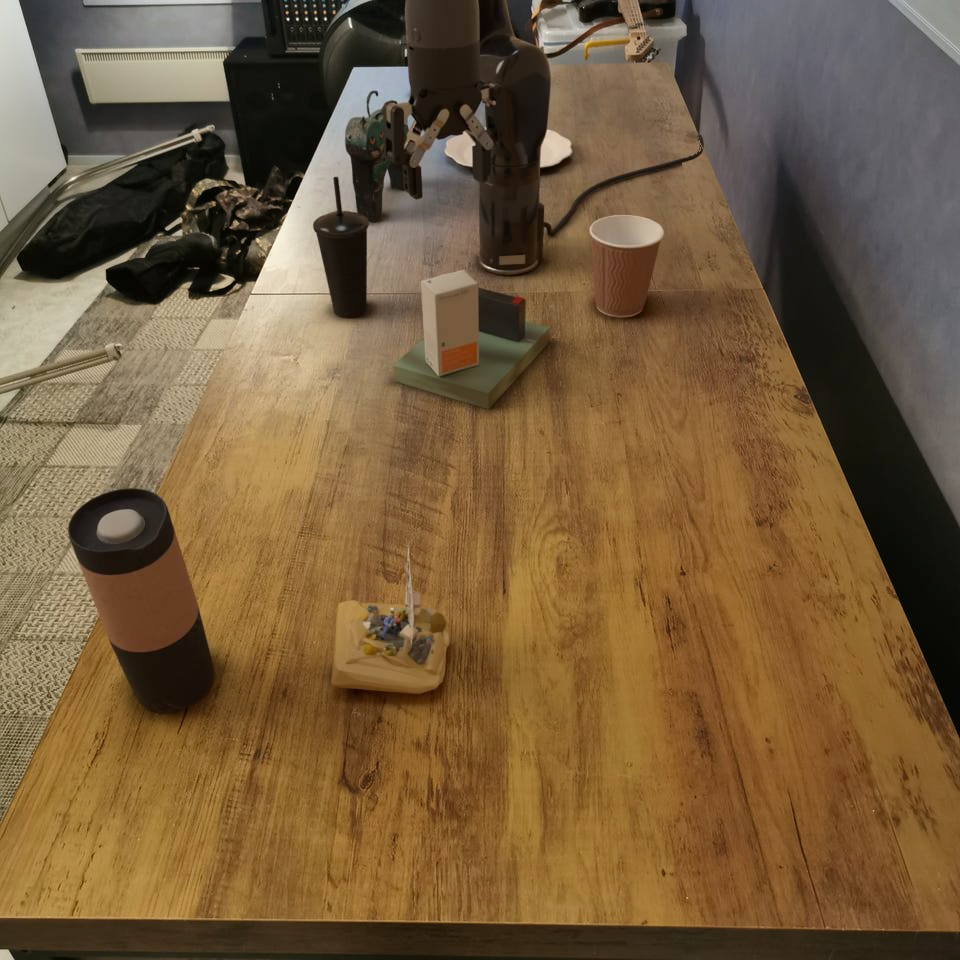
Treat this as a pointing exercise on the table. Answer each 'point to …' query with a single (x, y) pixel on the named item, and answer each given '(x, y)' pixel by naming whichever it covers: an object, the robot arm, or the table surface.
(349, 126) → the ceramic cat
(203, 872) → the table surface
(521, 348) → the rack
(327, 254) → the drinking cup
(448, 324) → the cosmetic box
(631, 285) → the coffee cup
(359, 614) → the miniature diorama
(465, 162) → the plate
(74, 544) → the travel mug
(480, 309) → the black battery pack
